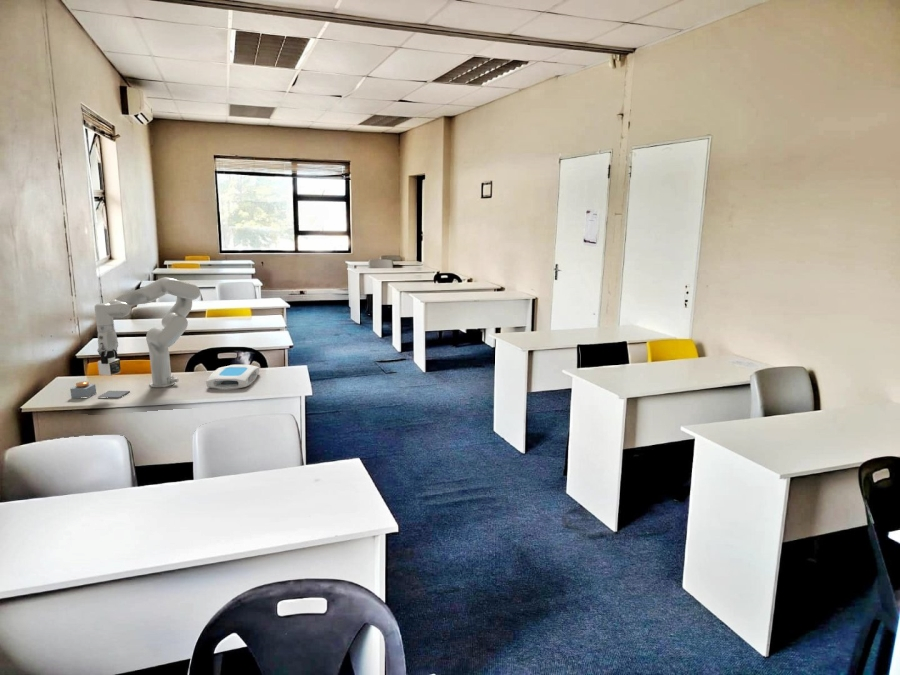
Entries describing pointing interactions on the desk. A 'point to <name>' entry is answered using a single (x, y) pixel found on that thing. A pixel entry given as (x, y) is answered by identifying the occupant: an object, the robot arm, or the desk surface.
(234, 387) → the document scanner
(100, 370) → the medicine bottle
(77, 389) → the release housing
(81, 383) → the release plunger
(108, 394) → the mat
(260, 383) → the desk surface
